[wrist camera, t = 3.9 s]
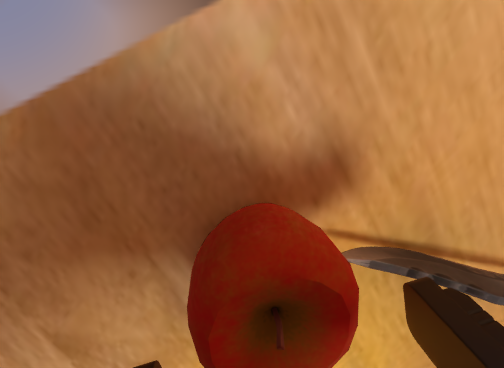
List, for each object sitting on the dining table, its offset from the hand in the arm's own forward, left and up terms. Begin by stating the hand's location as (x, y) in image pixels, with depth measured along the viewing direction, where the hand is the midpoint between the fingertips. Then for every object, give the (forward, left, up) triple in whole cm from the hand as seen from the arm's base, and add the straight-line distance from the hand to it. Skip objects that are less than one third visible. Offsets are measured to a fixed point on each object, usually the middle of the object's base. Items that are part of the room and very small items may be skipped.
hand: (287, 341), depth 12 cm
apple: (0, 0, -8) cm, 8 cm away
